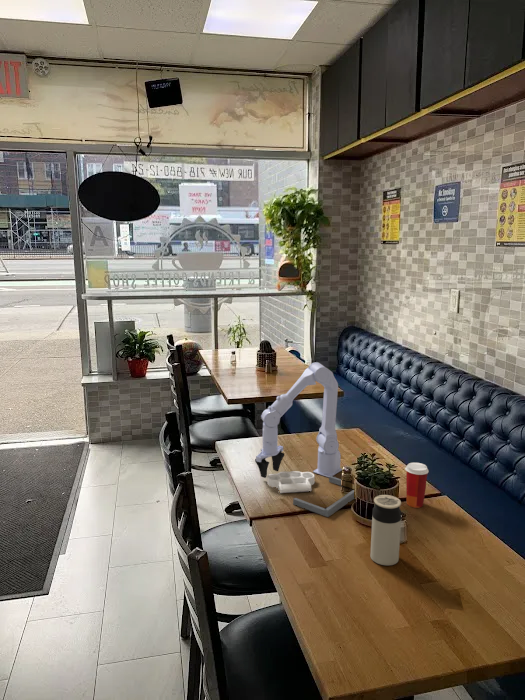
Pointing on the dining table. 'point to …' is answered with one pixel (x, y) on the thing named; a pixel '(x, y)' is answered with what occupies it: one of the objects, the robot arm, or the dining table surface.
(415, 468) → the paper cup
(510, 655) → the dining table surface
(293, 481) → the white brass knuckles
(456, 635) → the dining table surface
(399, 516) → the travel mug
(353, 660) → the dining table surface
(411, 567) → the dining table surface
